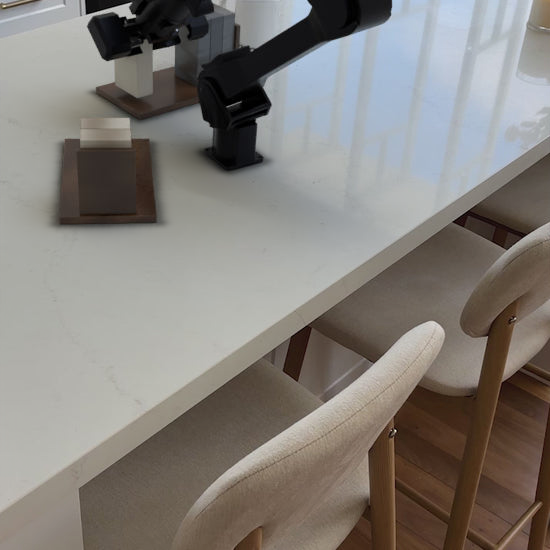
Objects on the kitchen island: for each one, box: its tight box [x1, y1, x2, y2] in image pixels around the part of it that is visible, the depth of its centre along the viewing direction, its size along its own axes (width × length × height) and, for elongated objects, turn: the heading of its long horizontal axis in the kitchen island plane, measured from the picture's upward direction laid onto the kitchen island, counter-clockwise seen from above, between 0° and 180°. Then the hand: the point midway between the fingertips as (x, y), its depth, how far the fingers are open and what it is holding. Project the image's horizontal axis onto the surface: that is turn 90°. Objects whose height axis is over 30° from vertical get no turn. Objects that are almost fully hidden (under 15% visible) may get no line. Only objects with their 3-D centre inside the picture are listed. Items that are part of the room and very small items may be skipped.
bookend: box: [95, 2, 240, 121], centre depth 142 cm, size 12×22×12 cm, turn 133°
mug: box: [218, 0, 282, 50], centre depth 164 cm, size 12×8×10 cm
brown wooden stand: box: [58, 117, 158, 225], centre depth 117 cm, size 12×21×11 cm, turn 9°
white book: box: [113, 40, 154, 98], centre depth 137 cm, size 6×3×10 cm, turn 43°
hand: (128, 52), depth 137 cm, fingers closed on white book, 3 cm apart
